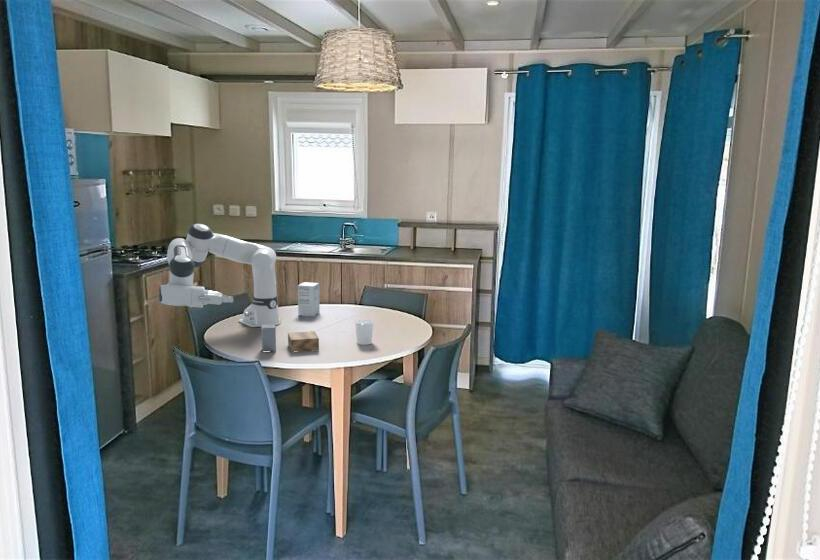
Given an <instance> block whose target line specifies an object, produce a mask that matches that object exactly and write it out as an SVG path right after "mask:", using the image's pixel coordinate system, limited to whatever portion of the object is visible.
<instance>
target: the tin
mask: <svg viewBox="0 0 820 560" xmlns="http://www.w3.org/2000/svg"><path fill="white" fill-rule="evenodd" d="M260 329H261V350H263V351H276V352H277V338H276V337H277V335H276V333H277V332H276V331H277V330H276V325H274V324H271V325H261V327H260ZM263 351H262V352H263Z"/></svg>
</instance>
